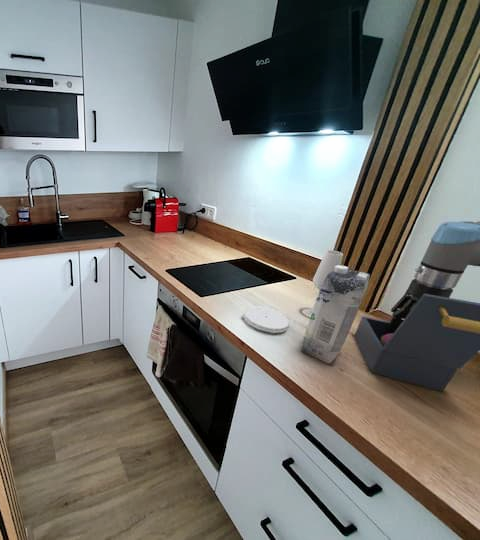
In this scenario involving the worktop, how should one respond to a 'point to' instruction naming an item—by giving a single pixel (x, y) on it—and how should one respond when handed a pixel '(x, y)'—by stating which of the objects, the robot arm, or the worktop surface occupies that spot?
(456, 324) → the lid
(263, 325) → the plastic lid
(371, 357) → the chest
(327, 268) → the champagne flute
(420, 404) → the worktop surface
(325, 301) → the juice carton
